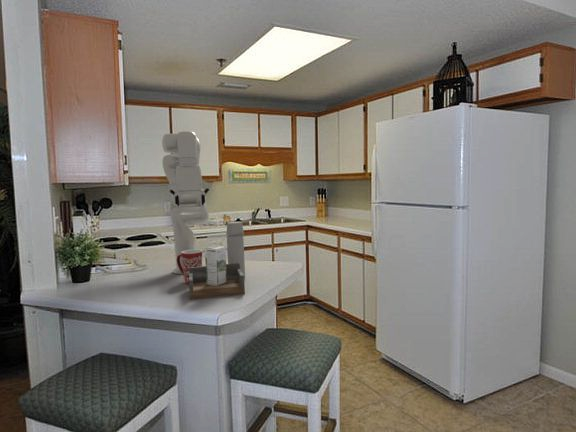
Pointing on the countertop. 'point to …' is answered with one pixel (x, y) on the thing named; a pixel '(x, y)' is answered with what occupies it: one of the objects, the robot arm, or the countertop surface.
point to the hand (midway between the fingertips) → (190, 205)
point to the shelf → (206, 291)
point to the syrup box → (215, 265)
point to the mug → (189, 262)
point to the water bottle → (235, 244)
